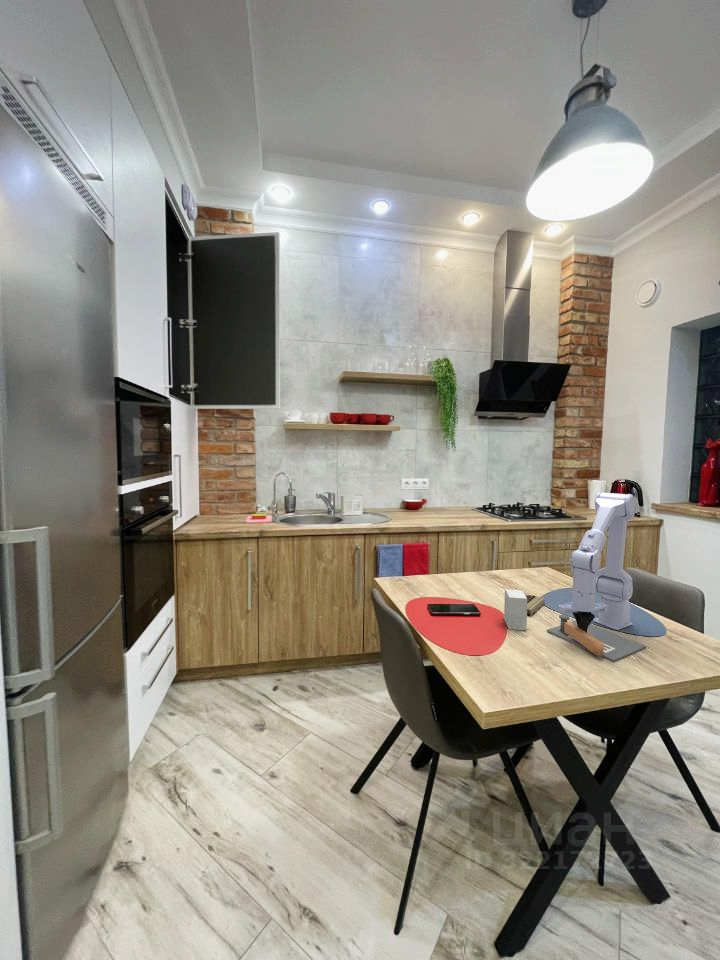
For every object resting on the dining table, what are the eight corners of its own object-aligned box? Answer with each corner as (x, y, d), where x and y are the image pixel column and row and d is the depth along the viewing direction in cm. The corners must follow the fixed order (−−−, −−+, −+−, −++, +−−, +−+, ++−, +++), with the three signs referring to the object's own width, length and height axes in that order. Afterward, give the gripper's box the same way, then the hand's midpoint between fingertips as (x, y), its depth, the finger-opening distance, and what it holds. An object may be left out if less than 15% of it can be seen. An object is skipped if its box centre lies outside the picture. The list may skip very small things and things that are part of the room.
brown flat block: (522, 599, 148) (523, 591, 147) (545, 605, 142) (545, 597, 142) (507, 611, 136) (508, 602, 136) (531, 618, 130) (531, 609, 130)
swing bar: (570, 631, 117) (571, 621, 117) (605, 655, 103) (605, 644, 103) (563, 631, 117) (563, 621, 117) (597, 655, 103) (597, 644, 103)
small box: (526, 631, 120) (528, 598, 119) (507, 629, 121) (509, 597, 120) (521, 620, 128) (522, 590, 127) (503, 618, 129) (504, 588, 128)
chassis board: (578, 621, 128) (579, 605, 127) (646, 647, 110) (647, 630, 110) (546, 631, 120) (547, 615, 119) (613, 662, 102) (615, 643, 102)
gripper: (596, 585, 117) (594, 628, 118) (552, 586, 115) (550, 630, 116) (614, 593, 110) (611, 639, 111) (567, 595, 108) (565, 641, 109)
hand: (581, 635), depth 113 cm, fingers closed, pressing on swing bar
